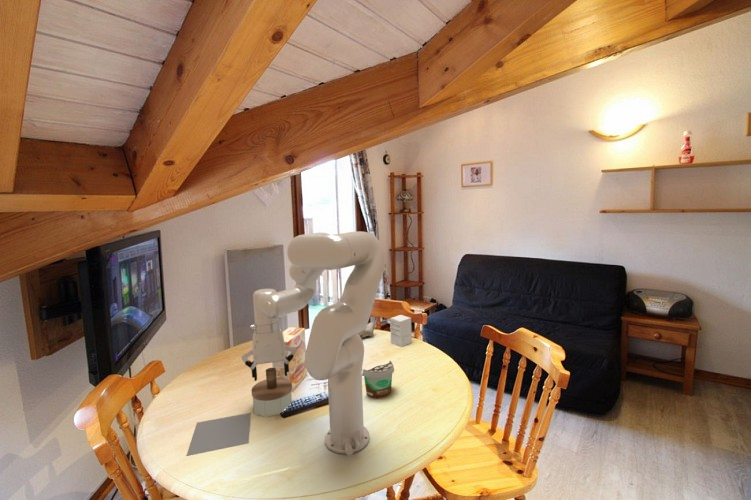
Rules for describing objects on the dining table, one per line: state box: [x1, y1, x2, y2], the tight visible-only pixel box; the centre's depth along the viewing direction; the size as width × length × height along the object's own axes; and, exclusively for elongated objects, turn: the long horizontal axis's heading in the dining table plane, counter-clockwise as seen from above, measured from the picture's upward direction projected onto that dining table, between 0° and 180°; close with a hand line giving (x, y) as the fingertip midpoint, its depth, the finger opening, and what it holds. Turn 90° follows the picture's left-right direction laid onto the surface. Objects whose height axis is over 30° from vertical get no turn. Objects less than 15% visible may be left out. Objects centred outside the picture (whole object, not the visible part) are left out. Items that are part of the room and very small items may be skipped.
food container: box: [362, 360, 395, 399], centre depth 127 cm, size 12×6×10 cm, turn 123°
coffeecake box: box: [271, 326, 308, 393], centre depth 137 cm, size 15×7×20 cm, turn 167°
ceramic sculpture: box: [358, 321, 375, 339], centre depth 182 cm, size 11×9×15 cm
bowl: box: [252, 391, 293, 418], centre depth 121 cm, size 12×12×6 cm
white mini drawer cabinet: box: [389, 314, 413, 348], centre depth 173 cm, size 7×7×13 cm
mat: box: [185, 412, 252, 457], centre depth 108 cm, size 16×16×1 cm
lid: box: [250, 367, 292, 401], centre depth 120 cm, size 13×13×7 cm
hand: (271, 376), depth 120 cm, fingers open, 9 cm apart
